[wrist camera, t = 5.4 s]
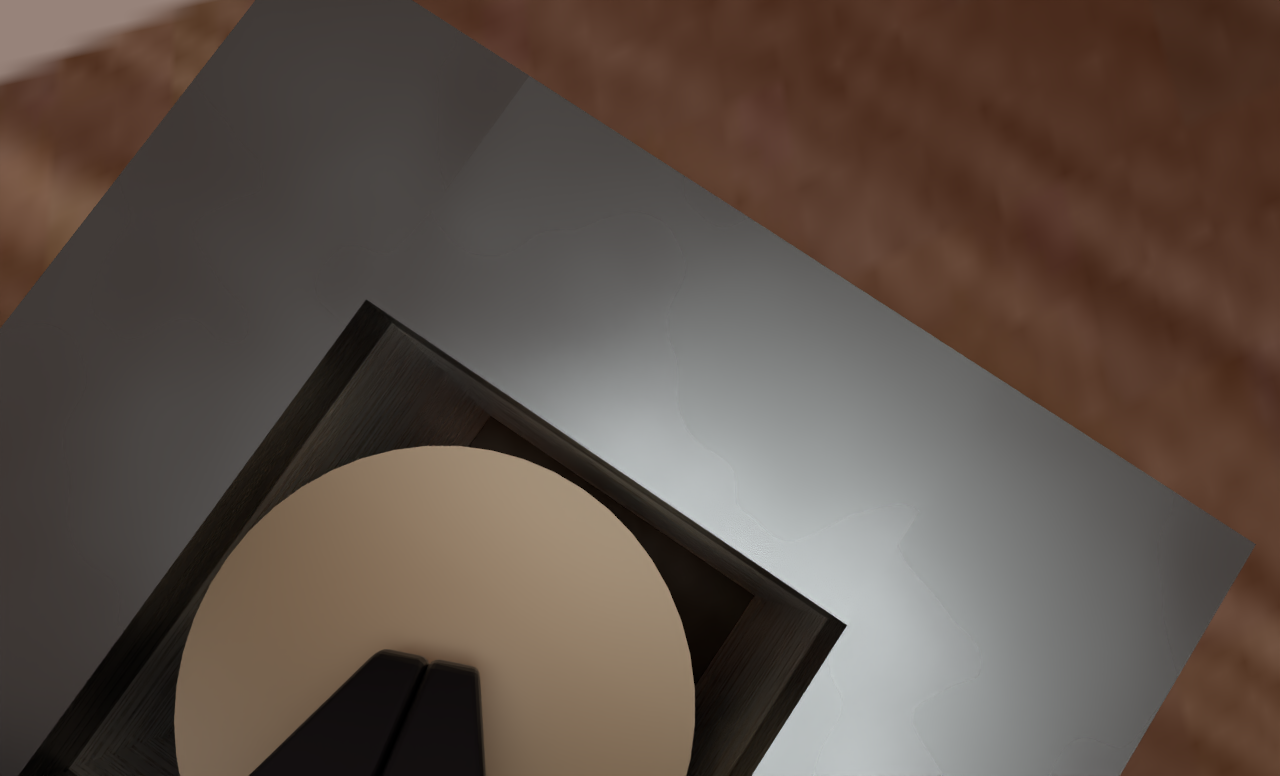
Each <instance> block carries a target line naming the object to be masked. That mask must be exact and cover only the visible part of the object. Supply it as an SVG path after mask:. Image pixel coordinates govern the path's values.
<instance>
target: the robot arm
mask: <svg viewBox="0 0 1280 776" xmlns="http://www.w3.org/2000/svg"><path fill="white" fill-rule="evenodd" d="M249 776H486V766H485V750H484V733H483V716H482V699H481V683H480V674H479V671H478V669H477V668H476V667H474V666H471V665H466V664H461V663H456V662H451V661H446V660H441V659H439V660H434V661H432V662H431V663H430V664H429V662H428V660H427V659H426V658H425V657H423V656H421V655H416V654H411V653H406V652H401V651H396V650H391V649H383V650H380V651H378V652H376V653H375V654H374V655H373V656H371V657H370V658H369V659H368V660H367V661H366V662H365V663H364V664H363V665H362V666H361V667H360V668H359V669H358V670H357V671H356V672H355V673H354V674H353V675H352V676H351V677H350V678H349V679H348V680H347V681H345V682H344V683H343V684H342V685H341V686H340V687H339V688H338V689H337V690H336V691H335V692H334V693H333V694H332V695H331V696H330V697H329V698H328V699H327V700H326V701H325V702H324V703H323V704H322V705H321V706H320V707H319V708H318V709H317V710H316V711H315V712H314V713H313V714H311V715H310V716H309V717H308V718H307V719H306V720H305V721H304V722H303V723H302V724H301V725H300V726H299V727H298V728H297V729H296V730H295V731H294V732H293V733H292V734H291V735H290V736H289V737H288V738H287V739H286V740H285V741H284V742H283V743H282V744H281V745H280V746H279V747H277V748H276V749H275V750H274V751H273V752H272V753H271V754H270V755H269V756H268V757H267V758H266V759H265V760H264V761H263V762H262V763H261V764H260V765H259V766H258V767H257V768H256V769H255V770H254V771H253V772H252V773H251V774H250V775H249Z"/></svg>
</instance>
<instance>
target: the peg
mask: <svg viewBox="0 0 1280 776" xmlns="http://www.w3.org/2000/svg"><path fill="white" fill-rule="evenodd" d="M383 649H391V650H396V651H401V652H406V653H411V654H416V655H421V656H423V657H425V658H426V659H427V660H428V662H429V664H430V663H431V662H432V661H434V660H439V659H441V660H446V661H451V662H456V663H461V664H466V665H471V666H474V667H476V668H477V669H478V671H479V674H480V683H481V699H482V716H483V733H484V750H485V766H486V776H686V774H687V771H688V767H689V763H690V758H691V750H692V742H693V735H694V727H695V687H694V680H693V672H692V664H691V656H690V652H689V648H688V644H687V640H686V636H685V633H684V629H683V625H682V621H681V619H680V616H679V614H678V611H677V609H676V606H675V604H674V601H673V599H672V596H671V594H670V591H669V589H668V587H667V586H666V584H665V582H664V580H663V578H662V577H661V575H660V573H659V571H658V570H657V568H656V566H655V564H654V563H653V561H652V559H651V558H650V556H649V555H648V554H647V553H646V551H645V550H644V549H643V547H642V546H641V545H640V543H639V542H638V541H637V539H636V538H635V537H634V535H633V534H632V533H631V532H630V531H629V530H628V529H627V528H626V526H625V525H624V524H623V523H622V522H621V521H620V520H619V519H618V518H617V517H616V516H615V515H614V514H613V513H612V512H611V511H610V510H609V509H608V508H606V507H605V506H604V505H603V504H601V503H600V502H599V501H597V500H596V499H595V498H594V497H592V496H591V495H590V494H589V493H587V492H586V491H585V490H583V489H582V488H580V487H579V486H577V485H575V484H574V483H572V482H570V481H568V480H567V479H565V478H563V477H562V476H560V475H558V474H557V473H555V472H553V471H551V470H548V469H546V468H543V467H541V466H539V465H536V464H534V463H532V462H529V461H527V460H524V459H521V458H518V457H514V456H510V455H507V454H503V453H499V452H496V451H492V450H485V449H477V448H470V447H463V446H422V447H414V448H406V449H398V450H392V451H388V452H384V453H380V454H377V455H373V456H369V457H365V458H361V459H359V460H356V461H354V462H351V463H349V464H346V465H344V466H341V467H339V468H336V469H334V470H332V471H330V472H328V473H326V474H324V475H322V476H321V477H319V478H317V479H315V480H313V481H312V482H310V483H308V484H306V485H304V486H303V487H301V488H300V489H298V490H297V491H296V492H294V493H293V494H291V495H290V496H289V497H287V498H286V499H285V500H283V501H282V502H281V503H279V504H278V505H276V506H275V507H274V508H273V509H272V510H271V511H270V512H269V513H268V514H266V515H265V516H264V517H263V518H262V519H261V520H260V521H259V522H258V523H257V524H256V525H255V526H254V527H253V528H252V529H251V530H250V531H249V532H248V533H247V534H246V535H245V537H244V538H243V539H242V540H241V541H240V543H239V544H238V545H237V546H236V548H235V549H234V550H233V551H232V552H231V554H230V555H229V556H228V557H227V559H226V560H225V562H224V564H223V565H222V567H221V568H220V570H219V571H218V573H217V575H216V576H215V578H214V579H213V581H212V583H211V584H210V586H209V588H208V590H207V592H206V594H205V596H204V598H203V600H202V602H201V604H200V607H199V609H198V611H197V613H196V615H195V617H194V620H193V623H192V626H191V629H190V632H189V635H188V638H187V641H186V644H185V647H184V650H183V655H182V660H181V665H180V670H179V675H178V680H177V686H176V700H175V715H174V728H175V744H176V758H177V763H178V768H179V773H180V776H249V775H250V774H251V773H252V772H253V771H254V770H255V769H256V768H257V767H258V766H259V765H260V764H261V763H262V762H263V761H264V760H265V759H266V758H267V757H268V756H269V755H270V754H271V753H272V752H273V751H274V750H275V749H276V748H277V747H279V746H280V745H281V744H282V743H283V742H284V741H285V740H286V739H287V738H288V737H289V736H290V735H291V734H292V733H293V732H294V731H295V730H296V729H297V728H298V727H299V726H300V725H301V724H302V723H303V722H304V721H305V720H306V719H307V718H308V717H309V716H310V715H311V714H313V713H314V712H315V711H316V710H317V709H318V708H319V707H320V706H321V705H322V704H323V703H324V702H325V701H326V700H327V699H328V698H329V697H330V696H331V695H332V694H333V693H334V692H335V691H336V690H337V689H338V688H339V687H340V686H341V685H342V684H343V683H344V682H345V681H347V680H348V679H349V678H350V677H351V676H352V675H353V674H354V673H355V672H356V671H357V670H358V669H359V668H360V667H361V666H362V665H363V664H364V663H365V662H366V661H367V660H368V659H369V658H370V657H371V656H373V655H374V654H375V653H376V652H378V651H380V650H383Z"/></svg>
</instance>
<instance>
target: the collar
mask: <svg viewBox="0 0 1280 776" xmlns="http://www.w3.org/2000/svg"><path fill="white" fill-rule="evenodd" d="M490 416H491V417H493V418H494V419H496V420H497V421H499V422H500V423H502V424H503V425H505V426H506V427H508V428H509V429H510V430H512V431H513V432H515V433H516V434H518V435H519V436H521V437H522V438H524V439H525V440H527V441H528V442H530V443H531V444H533V445H534V446H535V447H537V448H538V449H540V450H541V451H543V452H544V453H546V454H547V455H549V456H550V457H552V458H553V459H555V460H556V461H558V462H559V463H560V464H562V465H563V466H565V467H566V468H568V469H569V470H571V471H572V472H574V473H575V474H577V475H578V476H580V477H581V478H583V479H584V480H585V481H587V482H588V483H590V484H591V485H593V486H594V487H596V488H597V489H599V490H600V491H602V492H603V493H605V494H606V495H607V496H609V497H610V498H612V499H613V500H615V501H616V502H618V503H619V504H621V505H622V506H624V507H625V508H627V509H628V510H630V511H631V512H632V513H634V514H635V515H637V516H638V517H640V518H641V519H643V520H644V521H646V522H647V523H649V524H650V525H652V526H653V527H655V528H656V529H657V530H659V531H660V532H662V533H663V534H665V535H666V536H668V537H669V538H671V539H672V540H674V541H675V542H677V543H678V544H680V545H681V546H682V547H684V548H685V549H687V550H688V551H690V552H691V553H693V554H694V555H696V556H697V557H699V558H700V559H702V560H703V561H704V562H706V563H707V564H709V565H710V566H712V567H713V568H715V569H716V570H718V571H719V572H721V573H722V574H724V575H725V576H727V577H728V578H729V579H731V580H732V581H734V582H735V583H737V584H738V585H740V586H741V587H743V588H744V589H746V590H747V591H749V592H750V593H752V594H753V595H754V597H753V598H752V600H751V601H750V603H749V604H748V606H747V608H746V609H745V611H744V612H743V614H742V615H741V617H740V618H739V620H738V621H737V623H736V624H735V626H734V628H733V629H732V631H731V632H730V634H729V635H728V637H727V638H726V640H725V641H724V643H723V644H722V646H721V648H720V649H719V651H718V652H717V654H716V655H715V657H714V658H713V660H712V661H711V663H710V664H709V666H708V668H707V669H706V671H705V672H704V674H703V675H702V677H701V678H700V680H699V681H698V683H697V684H696V686H695V727H694V735H693V742H692V750H691V758H690V763H689V767H688V771H687V774H686V776H1120V774H1121V773H1122V771H1123V769H1124V768H1125V766H1126V764H1127V762H1128V761H1129V759H1130V757H1131V756H1132V754H1133V752H1134V751H1135V749H1136V747H1137V745H1138V744H1139V742H1140V740H1141V739H1142V737H1143V735H1144V734H1145V732H1146V730H1147V728H1148V727H1149V725H1150V723H1151V722H1152V720H1153V718H1154V717H1155V715H1156V713H1157V711H1158V710H1159V708H1160V706H1161V705H1162V703H1163V701H1164V700H1165V698H1166V696H1167V694H1168V693H1169V691H1170V689H1171V688H1172V686H1173V684H1174V683H1175V681H1176V679H1177V677H1178V676H1179V674H1180V672H1181V671H1182V669H1183V667H1184V666H1185V664H1186V662H1187V660H1188V659H1189V657H1190V655H1191V654H1192V652H1193V650H1194V649H1195V647H1196V645H1197V643H1198V642H1199V640H1200V638H1201V637H1202V635H1203V633H1204V632H1205V630H1206V628H1207V626H1208V625H1209V623H1210V621H1211V620H1212V618H1213V616H1214V615H1215V613H1216V611H1217V609H1218V608H1219V606H1220V604H1221V603H1222V601H1223V599H1224V598H1225V596H1226V594H1227V592H1228V591H1229V589H1230V587H1231V586H1232V584H1233V582H1234V581H1235V579H1236V577H1237V575H1238V574H1239V572H1240V570H1241V569H1242V567H1243V565H1244V564H1245V562H1246V560H1247V558H1248V557H1249V555H1250V553H1251V552H1252V550H1253V548H1254V547H1255V545H1256V544H1254V543H1253V542H1251V541H1250V540H1248V539H1247V538H1245V537H1243V536H1242V535H1240V534H1239V533H1237V532H1236V531H1234V530H1233V529H1231V528H1229V527H1228V526H1226V525H1225V524H1223V523H1222V522H1220V521H1219V520H1217V519H1216V518H1214V517H1212V516H1211V515H1209V514H1208V513H1206V512H1205V511H1203V510H1202V509H1200V508H1198V507H1197V506H1195V505H1194V504H1192V503H1191V502H1189V501H1188V500H1186V499H1185V498H1183V497H1181V496H1180V495H1178V494H1177V493H1175V492H1174V491H1172V490H1171V489H1169V488H1167V487H1166V486H1164V485H1163V484H1161V483H1160V482H1158V481H1157V480H1155V479H1153V478H1152V477H1150V476H1149V475H1147V474H1146V473H1144V472H1143V471H1141V470H1140V469H1138V468H1136V467H1135V466H1133V465H1132V464H1130V463H1129V462H1127V461H1126V460H1124V459H1122V458H1121V457H1119V456H1118V455H1116V454H1115V453H1113V452H1112V451H1110V450H1109V449H1107V448H1105V447H1104V446H1102V445H1101V444H1099V443H1098V442H1096V441H1095V440H1093V439H1091V438H1090V437H1088V436H1087V435H1085V434H1084V433H1082V432H1081V431H1079V430H1078V429H1076V428H1074V427H1073V426H1071V425H1070V424H1068V423H1067V422H1065V421H1064V420H1062V419H1060V418H1059V417H1057V416H1056V415H1054V414H1053V413H1051V412H1050V411H1048V410H1047V409H1045V408H1043V407H1042V406H1040V405H1039V404H1037V403H1036V402H1034V401H1033V400H1031V399H1029V398H1028V397H1026V396H1025V395H1023V394H1022V393H1020V392H1019V391H1017V390H1015V389H1014V388H1012V387H1011V386H1009V385H1008V384H1006V383H1005V382H1003V381H1002V380H1000V379H998V378H997V377H995V376H994V375H992V374H991V373H989V372H988V371H986V370H984V369H983V368H981V367H980V366H978V365H977V364H975V363H974V362H972V361H971V360H969V359H967V358H966V357H964V356H963V355H961V354H960V353H958V352H957V351H955V350H953V349H952V348H950V347H949V346H947V345H946V344H944V343H943V342H941V341H940V340H938V339H936V338H935V337H933V336H932V335H930V334H929V333H927V332H926V331H924V330H922V329H921V328H919V327H918V326H916V325H915V324H913V323H912V322H910V321H909V320H907V319H905V318H904V317H902V316H901V315H899V314H898V313H896V312H895V311H893V310H891V309H890V308H888V307H887V306H885V305H884V304H882V303H881V302H879V301H878V300H876V299H874V298H873V297H871V296H870V295H868V294H867V293H865V292H864V291H862V290H860V289H859V288H857V287H856V286H854V285H853V284H851V283H850V282H848V281H846V280H845V279H843V278H842V277H840V276H839V275H837V274H836V273H834V272H833V271H831V270H829V269H828V268H826V267H825V266H823V265H822V264H820V263H819V262H817V261H815V260H814V259H812V258H811V257H809V256H808V255H806V254H805V253H803V252H802V251H800V250H798V249H797V248H795V247H794V246H792V245H791V244H789V243H788V242H786V241H784V240H783V239H781V238H780V237H778V236H777V235H775V234H774V233H772V232H771V231H769V230H767V229H766V228H764V227H763V226H761V225H760V224H758V223H757V222H755V221H753V220H752V219H750V218H749V217H747V216H746V215H744V214H743V213H741V212H740V211H738V210H736V209H735V208H733V207H732V206H730V205H729V204H727V203H726V202H724V201H722V200H721V199H719V198H718V197H716V196H715V195H713V194H712V193H710V192H708V191H707V190H705V189H704V188H702V187H701V186H699V185H698V184H696V183H695V182H693V181H691V180H690V179H688V178H687V177H685V176H684V175H682V174H681V173H679V172H677V171H676V170H674V169H673V168H671V167H670V166H668V165H667V164H665V163H664V162H662V161H660V160H659V159H657V158H656V157H654V156H653V155H651V154H650V153H648V152H646V151H645V150H643V149H642V148H640V147H639V146H637V145H636V144H634V143H633V142H631V141H629V140H628V139H626V138H625V137H623V136H622V135H620V134H619V133H617V132H615V131H614V130H612V129H611V128H609V127H608V126H606V125H605V124H603V123H602V122H600V121H598V120H597V119H595V118H594V117H592V116H591V115H589V114H588V113H586V112H584V111H583V110H581V109H580V108H578V107H577V106H575V105H574V104H572V103H571V102H569V101H567V100H566V99H564V98H563V97H561V96H560V95H558V94H557V93H555V92H553V91H552V90H550V89H549V88H547V87H546V86H544V85H543V84H541V83H539V82H538V81H536V80H535V79H533V78H532V77H530V76H529V75H527V74H526V73H524V72H522V71H521V70H519V69H518V68H516V67H515V66H513V65H512V64H510V63H508V62H507V61H505V60H504V59H502V58H501V57H499V56H498V55H496V54H495V53H493V52H491V51H490V50H488V49H487V48H485V47H484V46H482V45H481V44H479V43H477V42H476V41H474V40H473V39H471V38H470V37H468V36H467V35H465V34H464V33H462V32H460V31H459V30H457V29H456V28H454V27H453V26H451V25H450V24H448V23H446V22H445V21H443V20H442V19H440V18H439V17H437V16H436V15H434V14H433V13H431V12H429V11H428V10H426V9H425V8H423V7H422V6H420V5H419V4H417V3H415V2H414V1H412V0H255V2H254V3H253V4H252V5H251V7H250V8H249V9H248V11H247V12H246V13H245V14H244V16H243V17H242V18H241V20H240V21H239V22H238V23H237V25H236V26H235V27H234V29H233V30H232V31H231V32H230V34H229V35H228V36H227V38H226V39H225V40H224V41H223V43H222V44H221V45H220V47H219V48H218V49H217V51H216V52H215V53H214V54H213V56H212V57H211V58H210V60H209V61H208V62H207V63H206V65H205V66H204V67H203V69H202V70H201V71H200V72H199V74H198V75H197V76H196V78H195V79H194V80H193V81H192V83H191V84H190V85H189V87H188V88H187V89H186V90H185V92H184V93H183V94H182V96H181V97H180V98H179V99H178V101H177V102H176V103H175V105H174V106H173V107H172V108H171V110H170V111H169V112H168V114H167V115H166V116H165V117H164V119H163V120H162V121H161V123H160V124H159V125H158V126H157V128H156V129H155V130H154V132H153V133H152V134H151V135H150V137H149V138H148V139H147V141H146V142H145V143H144V144H143V146H142V147H141V148H140V150H139V151H138V152H137V153H136V155H135V156H134V157H133V159H132V160H131V161H130V162H129V164H128V165H127V166H126V168H125V169H124V170H123V171H122V173H121V174H120V175H119V177H118V178H117V179H116V180H115V182H114V183H113V184H112V186H111V187H110V188H109V189H108V191H107V192H106V193H105V195H104V196H103V197H102V198H101V200H100V201H99V202H98V204H97V205H96V206H95V207H94V209H93V210H92V211H91V213H90V214H89V215H88V216H87V218H86V219H85V220H84V222H83V223H82V224H81V225H80V227H79V228H78V229H77V231H76V232H75V233H74V234H73V236H72V237H71V238H70V240H69V241H68V242H67V243H66V245H65V246H64V247H63V249H62V250H61V251H60V253H59V254H58V255H57V256H56V258H55V259H54V260H53V262H52V263H51V264H50V265H49V267H48V268H47V269H46V271H45V272H44V273H43V274H42V276H41V277H40V278H39V280H38V281H37V282H36V283H35V285H34V286H33V287H32V289H31V290H30V291H29V292H28V294H27V295H26V296H25V298H24V299H23V300H22V301H21V303H20V304H19V305H18V307H17V308H16V309H15V310H14V312H13V313H12V314H11V316H10V317H9V318H8V319H7V321H6V322H5V323H4V325H3V326H2V327H1V328H0V776H180V773H179V768H178V763H177V758H176V744H175V728H174V715H175V700H176V686H177V680H178V675H179V670H180V665H181V660H182V655H183V650H184V647H185V644H186V641H187V638H188V635H189V632H190V629H191V626H192V623H193V620H194V617H195V615H196V613H197V611H198V609H199V607H200V604H201V602H202V600H203V598H204V596H205V594H206V592H207V590H208V588H209V586H210V584H211V583H212V581H213V579H214V578H215V576H216V575H217V573H218V571H219V570H220V568H221V567H222V565H223V564H224V562H225V560H226V559H227V557H228V556H229V555H230V554H231V552H232V551H233V550H234V549H235V548H236V546H237V545H238V544H239V543H240V541H241V540H242V539H243V538H244V537H245V535H246V534H247V533H248V532H249V531H250V530H251V529H252V528H253V527H254V526H255V525H256V524H257V523H258V522H259V521H260V520H261V519H262V518H263V517H264V516H265V515H266V514H268V513H269V512H270V511H271V510H272V509H273V508H274V507H275V506H276V505H278V504H279V503H281V502H282V501H283V500H285V499H286V498H287V497H289V496H290V495H291V494H293V493H294V492H296V491H297V490H298V489H300V488H301V487H303V486H304V485H306V484H308V483H310V482H312V481H313V480H315V479H317V478H319V477H321V476H322V475H324V474H326V473H328V472H330V471H332V470H334V469H336V468H339V467H341V466H344V465H346V464H349V463H351V462H354V461H356V460H359V459H361V458H365V457H369V456H373V455H377V454H380V453H384V452H388V451H392V450H398V449H406V448H414V447H422V446H463V447H469V445H470V444H471V443H472V441H473V440H474V438H475V437H476V435H477V434H478V433H479V431H480V430H481V428H482V427H483V425H484V424H485V423H486V421H487V420H488V418H489V417H490Z"/></svg>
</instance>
